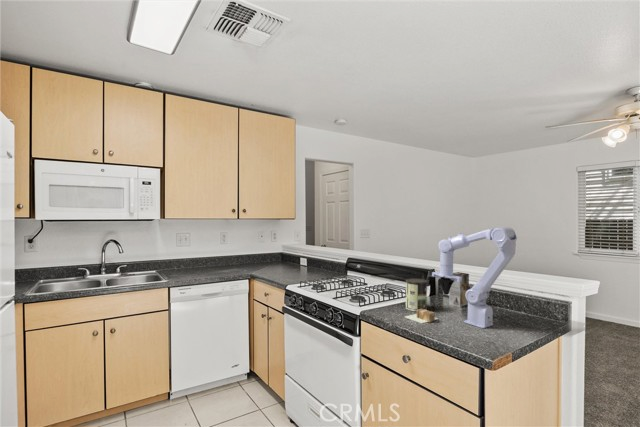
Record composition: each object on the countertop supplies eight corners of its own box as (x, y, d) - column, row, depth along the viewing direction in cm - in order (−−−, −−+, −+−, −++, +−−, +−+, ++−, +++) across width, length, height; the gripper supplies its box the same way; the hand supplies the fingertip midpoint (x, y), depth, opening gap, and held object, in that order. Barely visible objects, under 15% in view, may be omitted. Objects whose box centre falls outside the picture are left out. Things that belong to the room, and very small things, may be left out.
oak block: (434, 312, 151) (421, 308, 157) (429, 313, 149) (416, 309, 155) (434, 320, 151) (421, 316, 157) (429, 322, 149) (416, 317, 155)
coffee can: (425, 306, 174) (426, 278, 174) (427, 312, 164) (428, 283, 164) (404, 305, 176) (405, 277, 176) (405, 310, 166) (406, 281, 166)
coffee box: (457, 301, 183) (457, 271, 183) (468, 304, 179) (469, 273, 178) (448, 304, 177) (449, 273, 177) (460, 307, 173) (461, 275, 172)
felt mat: (438, 319, 154) (438, 318, 154) (422, 323, 147) (422, 322, 147) (420, 313, 162) (420, 312, 162) (404, 317, 156) (404, 316, 156)
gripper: (428, 263, 162) (427, 292, 163) (455, 268, 150) (454, 299, 151) (437, 262, 166) (437, 290, 167) (464, 266, 154) (464, 296, 155)
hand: (446, 294), depth 159 cm, fingers closed
